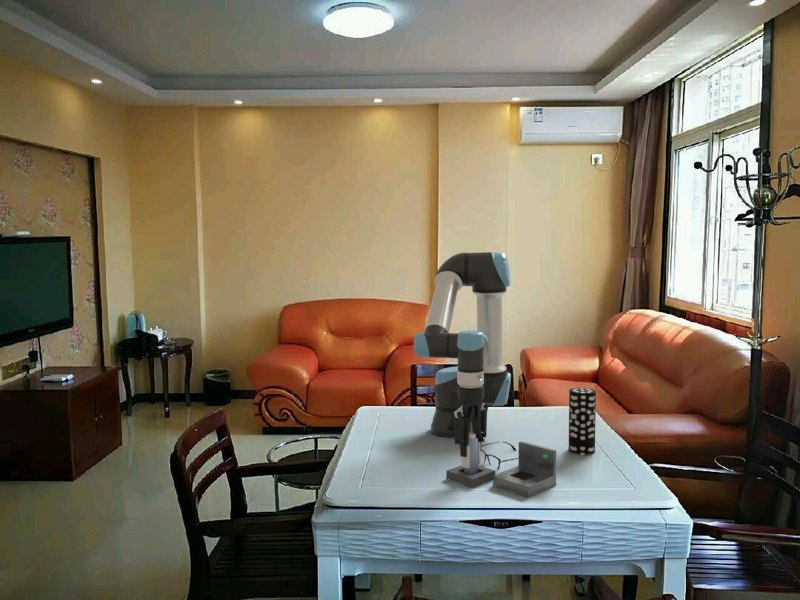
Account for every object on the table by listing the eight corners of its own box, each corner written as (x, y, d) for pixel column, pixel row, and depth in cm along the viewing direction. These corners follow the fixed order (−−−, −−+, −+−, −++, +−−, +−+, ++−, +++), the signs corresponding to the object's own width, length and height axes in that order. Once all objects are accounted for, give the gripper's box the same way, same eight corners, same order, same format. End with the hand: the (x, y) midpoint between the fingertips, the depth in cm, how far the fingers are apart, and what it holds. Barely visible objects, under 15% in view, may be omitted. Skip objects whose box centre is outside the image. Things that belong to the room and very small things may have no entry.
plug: (461, 478, 192) (460, 434, 191) (470, 475, 195) (469, 431, 193) (471, 482, 189) (471, 437, 188) (480, 478, 192) (480, 434, 190)
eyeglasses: (472, 456, 213) (472, 444, 212) (513, 450, 219) (513, 438, 219) (499, 473, 198) (499, 459, 197) (543, 465, 204) (543, 452, 204)
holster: (446, 479, 192) (446, 470, 192) (468, 470, 199) (468, 462, 198) (473, 488, 185) (473, 479, 184) (495, 478, 191) (495, 470, 191)
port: (492, 486, 186) (492, 451, 185) (520, 474, 195) (521, 441, 194) (528, 497, 177) (528, 461, 176) (556, 484, 186) (556, 450, 185)
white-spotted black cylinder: (596, 455, 211) (597, 393, 210) (569, 454, 213) (569, 393, 211) (593, 447, 219) (594, 388, 218) (567, 446, 221) (568, 387, 219)
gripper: (461, 392, 181) (461, 475, 183) (499, 382, 192) (499, 461, 194) (440, 388, 186) (441, 469, 188) (479, 378, 198) (479, 455, 200)
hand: (470, 465), depth 191 cm, fingers closed on plug, 4 cm apart
